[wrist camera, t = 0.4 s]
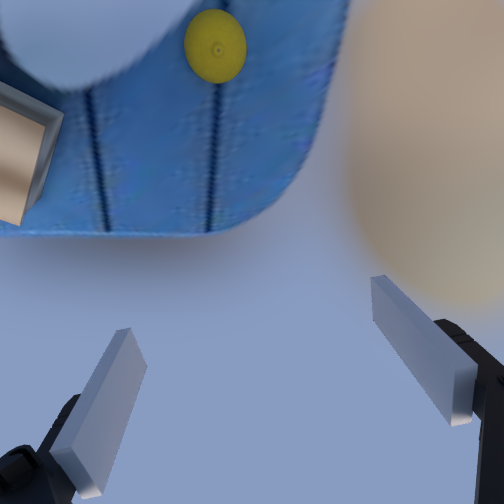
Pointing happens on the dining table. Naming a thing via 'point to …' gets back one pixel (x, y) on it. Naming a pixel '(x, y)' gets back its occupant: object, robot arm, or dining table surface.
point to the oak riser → (24, 150)
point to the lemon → (215, 46)
